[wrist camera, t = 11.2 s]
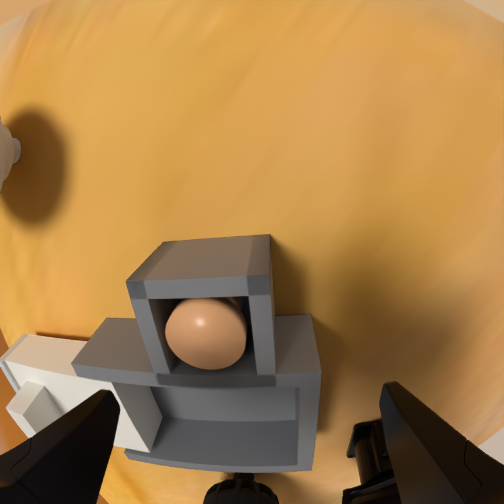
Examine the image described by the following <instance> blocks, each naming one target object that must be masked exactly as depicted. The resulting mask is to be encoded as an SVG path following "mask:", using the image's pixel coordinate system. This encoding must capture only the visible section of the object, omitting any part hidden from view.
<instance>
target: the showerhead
mask: <svg viewBox="0 0 504 504" xmlns="http://www.w3.org/2000/svg"><path fill="white" fill-rule="evenodd" d="M20 155H21V145H20V142H19V140H18V139H16V138H12V136H11V133H10V131H9V129H8V128H7V127H6V126H5V125H3V124H2V122H1V117H0V192H1V188H2V183H3V181H4V180H5V179H6V178H7V176H8V175H9V173H10V170H11V167H12V164H15V163H16V162H17V161H18V160H19V158H20Z"/></svg>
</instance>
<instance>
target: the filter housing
mask: <svg viewBox="0 0 504 504" xmlns="http://www.w3.org/2000/svg"><path fill="white" fill-rule="evenodd" d="M126 285H127V288H128V292H129V296H130V299H131V303H132V306H133V310H134V313H135V316H136V319H124V318H106V319H105V320H104V322H103V323H102V324H101V325H100V327H99V328H98V329H97V330H96V332H95V333H94V334H93V335H92V337H91V338H90V339H89V340H88V342H87V343H86V344H85V345H84V347H83V348H82V349H81V351H80V352H79V353H78V354H77V356H76V357H75V358H74V360H73V361H72V362H71V365H72V367H73V369H74V371H75V373H76V374H77V376H79V377H84V378H90V379H96V380H103V381H110V382H117V383H125V384H134V385H143V386H150V389H151V391H152V394H153V396H154V398H155V401H156V403H157V405H158V407H159V410H160V412H161V414H162V416H163V418H162V420H161V423H160V426H159V429H158V432H157V435H156V437H155V440H154V443H153V446H152V449H151V452H150V453H149V452H143V451H138V450H133V449H128V448H126V449H125V452H124V453H125V454H126V456H127V457H128V458H129V459H131V460H135V461H141V462H146V463H151V464H157V465H164V466H170V467H178V468H186V469H195V470H206V471H219V472H242V473H274V472H296V471H310V470H312V464H313V457H314V449H315V440H316V431H317V421H318V411H319V400H320V388H321V374H322V370H321V365H320V359H319V354H318V349H317V343H316V338H315V333H314V328H313V323H312V318H311V314H302V315H287V316H275V304H274V289H273V274H272V260H271V246H270V234H266V235H251V236H236V237H222V238H208V239H195V240H182V241H169V242H163V243H162V244H161V245H160V246H159V247H158V248H157V249H156V250H155V251H154V252H153V253H152V254H151V255H150V256H149V257H148V258H147V259H146V260H145V261H144V262H143V263H142V264H141V265H140V266H139V268H138V269H137V270H136V271H135V272H134V273H133V274H132V275H131V276H130V277H129V278H128V279H127V280H126ZM233 296H242V298H243V304H242V310H241V312H242V313H243V315H244V317H245V319H246V323H247V336H246V344H245V349H244V352H243V354H242V356H241V357H240V358H239V359H238V360H237V361H236V362H235V363H234V364H232V365H230V366H228V367H225V368H222V369H215V370H209V369H201V368H197V367H194V366H192V365H190V364H188V363H186V362H184V361H183V360H181V359H180V358H179V357H178V356H177V355H176V354H175V353H174V352H173V351H172V350H171V348H170V346H169V345H168V342H167V340H166V334H165V330H166V324H167V322H168V320H169V318H170V316H171V314H172V312H173V310H174V308H175V307H176V305H177V304H178V303H179V302H180V301H181V300H182V299H184V298H208V297H233Z"/></svg>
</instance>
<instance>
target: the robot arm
mask: <svg viewBox="0 0 504 504" xmlns="http://www.w3.org/2000/svg"><path fill="white" fill-rule="evenodd" d="M379 405H380V411H381V417H382V420H380V421H375V422H369V423H363V424H358V425H355V426H354V428H353V432H352V436H351V439H350V443H349V447H348V450H347V458H353V457H356V460H357V465H358V471H359V476H360V482H361V485H359V486H356V487H353V488H350V489H349V488H348V489H345V490H343V497H342V504H504V465H503V464H501V463H500V462H498V461H496V460H495V459H493V458H492V457H490V456H489V455H487V454H486V453H484V452H483V451H482V450H480V449H479V448H478V447H477V446H475V445H474V444H473V443H472V442H470V441H469V440H467V439H466V438H465V437H464V436H463V435H462V434H460V433H459V432H458V431H457V430H455V429H454V428H453V427H452V426H451V425H449V424H448V423H447V422H446V421H444V420H443V419H442V418H441V417H439V416H438V415H437V414H436V413H435V412H433V411H432V410H431V409H430V408H428V407H427V406H426V405H425V404H424V403H422V402H421V401H420V400H419V399H418V398H416V397H415V396H414V395H413V394H411V393H410V392H409V391H408V390H407V389H405V388H404V387H403V386H402V385H400V384H399V383H398V382H396V381H393V382H388V383H385V384H384V385H383V388H382V392H381V396H380V401H379ZM120 410H121V409H120V405H119V403H118V401H117V399H116V397H115V396H114V394H113V392H112V391H111V390H106V389H100V390H98V391H97V392H96V393H94V394H93V395H91V396H90V397H89V398H87V399H86V400H84V401H83V402H81V403H80V404H79V405H77V406H76V407H74V408H73V409H71V410H70V411H68V412H67V413H66V414H64V415H63V416H61V417H60V418H58V419H57V420H55V421H54V422H52V423H51V424H50V425H48V426H47V427H45V428H44V429H42V430H41V431H39V432H38V433H36V434H35V435H33V437H30V438H29V439H27V440H26V441H24V442H23V443H21V444H20V445H18V446H16V447H15V448H13V449H11V450H9V451H8V452H6V453H4V454H2V455H0V504H96V503H97V499H98V496H99V492H100V489H101V485H102V482H103V478H104V475H105V471H106V468H107V465H108V462H109V458H110V455H111V452H112V448H113V445H114V440H115V435H116V430H117V425H118V421H119V416H120Z"/></svg>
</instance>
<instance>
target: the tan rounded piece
mask: <svg viewBox="0 0 504 504" xmlns="http://www.w3.org/2000/svg"><path fill="white" fill-rule="evenodd" d="M242 304H243V298H242V296H233V297H208V298H184V299H182V300H181V301H180V302H179V303H178V304H177V305H176V307H175V308H174V310H173V312H172V314H171V316H170V318H169V320H168V322H167V324H166V330H165V334H166V340H167V342H168V345H169V346H170V348H171V350H172V351H173V352H174V353H175V354H176V355H177V356H178V357H179V358H180V359H181V360H183V361H184V362H186V363H188V364H190V365H192V366H194V367H197V368H201V369H209V370H215V369H222V368H225V367H228V366H230V365H232V364H234V363H235V362H236V361H237V360H238V359H239V358H240V357H241V356H242V354H243V352H244V349H245V344H246V336H247V323H246V319H245V317H244V315H243V313H242V312H241V310H242Z"/></svg>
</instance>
